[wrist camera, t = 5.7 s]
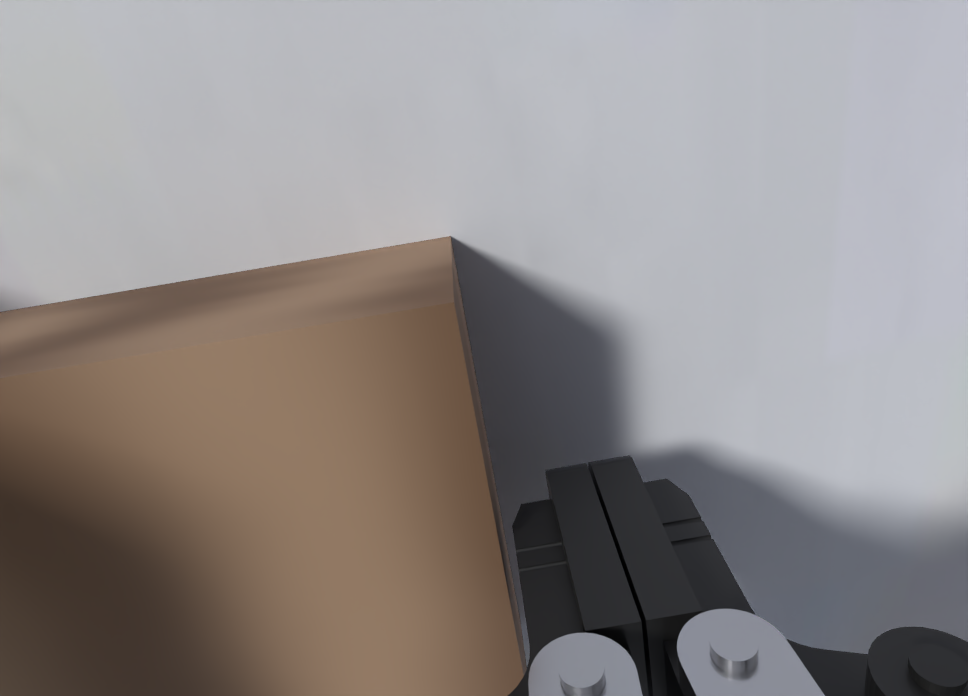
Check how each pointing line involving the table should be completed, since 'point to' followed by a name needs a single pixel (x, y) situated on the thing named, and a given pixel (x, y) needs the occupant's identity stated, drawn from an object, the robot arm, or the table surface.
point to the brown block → (254, 489)
